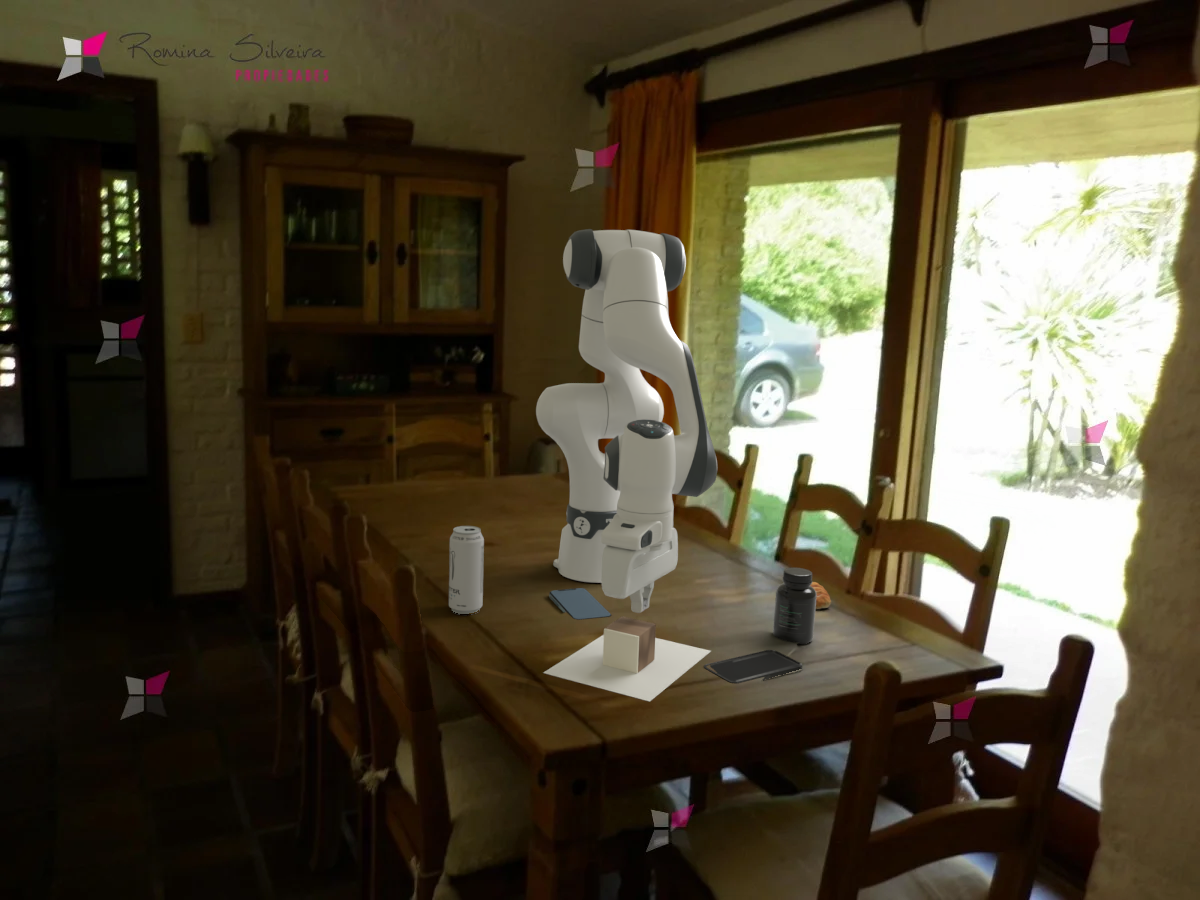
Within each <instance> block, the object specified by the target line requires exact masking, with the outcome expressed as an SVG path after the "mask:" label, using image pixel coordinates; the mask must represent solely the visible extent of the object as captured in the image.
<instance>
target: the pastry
mask: <svg viewBox="0 0 1200 900" xmlns="http://www.w3.org/2000/svg"><path fill="white" fill-rule="evenodd" d="M810 586H811V587H813V588H814V589H815V591H816V594H817V596H816V609H815V610H821V609H827V608H829V607H831V604H832V600H831V596H830V595H829V593H828V591H827V590H826V589H825V588H824V586H823V585H820V584H819V582H816V581H812V584H811V585H810Z"/></svg>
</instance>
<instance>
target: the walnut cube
mask: <svg viewBox="0 0 1200 900" xmlns="http://www.w3.org/2000/svg"><path fill="white" fill-rule="evenodd" d="M656 626H657V623H654V622H648V621H644V620H641V619H637V618H636V619H635V618H631V617H627V616H620V617H619V618H617V619H616V620H614V621H613V622H612V623H610V624H608V625H607V626H605V627H604V629H603V635H604V642H603V665H606V666H610V667H613V668H617V669H621V670H625V671H629V672H633V673H639V672H640V671H641V670H642V669H643V668H645V667H646V666H647V665H648V664H650V663H651V662H652V661H653V660H654V656H655V638H656V629H657V627H656Z"/></svg>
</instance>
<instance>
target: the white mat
mask: <svg viewBox="0 0 1200 900" xmlns="http://www.w3.org/2000/svg"><path fill="white" fill-rule="evenodd" d="M603 642H604V634H602V635H601V636H599V637H597V638H596V639H595V640H592V642H589V643H588V644H587V645H585V646H583V647H582V648H579V649H578V650H577V651H575V652H574V653H572V654H570V655H569V656H568V657H565V658H564V659H563V660H561V661H560V662H557V663H556V664H555V665H553V666H552V667H550V668H549V669H547V670H545V671H544V672H542V673H543V674H546V675H549V676H553V677H555V678H560V679H563V680H568V681H570V682H571V681H572V682H575V683H580V684H582V685H586V686H591V687H593V688H597V689H602V690H605V691H609V692H612V693H616V694H619V695H623V696H627V697H630V698H631V697H632V698H634V699H639V700H642V701H646V702H651V701H653V700H654V699H655V698H657V696H659V695H660V694H661V693H662V692H664V691H665V689H667V688H669V687H670V686H671V685H672V684H673V683H674V682H676V681H677V680H678V679H679V678H680V677H682V676H683V675H684V674H685V673H687V671H689V670H690V669H691V668H693V667H694V666H695V665H696V664H698V662H700V661H701V660H703V658H705V657H706V656H707V655H708V654H710V653H711V652H712V650H710V649H705V648H701V647H700V648H699V647H696V646H691V645H689V644H684V643H680V642H674V641H671V640H667V639H662V638H657V637H655V656H654V660H653V661H652V662H651V663H650V664H648V665H647V666H646V667H645V668H643V669H642V670H641V671H640V672H639V673H633V672H629V671H625V670H621V669H617V668H613V667H610V666H606V665H603Z"/></svg>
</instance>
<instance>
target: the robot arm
mask: <svg viewBox="0 0 1200 900" xmlns="http://www.w3.org/2000/svg"><path fill="white" fill-rule="evenodd" d="M562 258H563V259H562V264H563V270H564V273H565V274H566V275H565V276H566V279H567V281H568V282H569V283H571V285H572V286H574V287H576V288H580V289H582V290H585V291H584V294H583V295H584V296H583V300H582V307H581V308H582V309H581V317H580V318H581V319H580V329H579V340H578V351H579V354H580V356H581V357H582V359H583V360H584V361H585V363H587V364H589V365H590V366H592V367H593V368H595V369H596V370H599V371H600V372H603V373H604V381H603V382H600V383H594V382H593V383H592V382H591V383H589V382H588V383H586V382H583V383H581V382H580V383H579V382H577V383H576V382H575V383H574V382H573V383H572V382H571V383H570V382H569V383H562V384H558V385H552V386H548V387H546V388H545V389H544V390H543V391H542V393H541V394H540V396H539V398H538V399H537V402H536V407H535V415H536V420H537V423H538V426H539V427H540V428H541V430H542V431H543V432H544V433H545V434H546V435H547V436H549V437H550V438H551V439H552V440H553V441H554V442H555V443H556V444H557V445H558V446H559V448H560V449H561V451H562V453H563V454H564V457H565V459H566V463H567V467H568V476H569V502H568V504H567V505H566V506H567V507H566V513H565V514H566V520H565V521H566V522H567V524H566V525H565V526H564V527H562V529H561V536H560V543H559V551H558V558H556V559H554V560H553V564H552V565H553V567H555V568H557V569H558V573H559V574H560V575H562V577H565V578H567V579H569V580H573V581H578V582H584V583H597V584H598V583H600V584H601V590H602V591H603V594H604V596H607V597H610V598H614V599H620V600H624V599H627V598H628V597H629V599H630V601H631V602H630V605H631V606H630V607H631V608H630V609H631V611H632V612H633V613H636V614H640V613H642V612H644V611H645V610H647V609H648V608H649V607H650V599H651V596H652V593H653V591H654V588H655V581H657V580H659V579H661V578H662V577H663V576H665V575H667V574H669V573H670V572H672V571H674V570H676V568H677V564H678V559H679V541H678V539H679V538H678V531H677V529H676V528H675V527H674V508H675V507H674V505H675V504H674V501H673V495H677V496H684V497H694V498H698V497H699V496H702V495H703V494H704V493H705V492H706V491H707V490H709V489H710V488H711V487H712V486H713V485H714V483H716V480H717V476H718V475H717V473H718V460H717V456H716V452H715V448H714V443H713V441H712V438H711V434H710V431H709V428H708V427H709V426H708V422H707V417H706V413H705V409H704V408H705V407H704V404H703V399H702V393H701V390H700V385H699V379H698V375H697V371H696V366H695V363H694V358H693V355H692V352H691V349H690V347H689V346H688V344H687V343H685V342H684V341H682V340H681V339H679V338H678V336H677V334H676V333H675V331H674V329H673V327H672V324H671V321H670V316H669V297H668V292H672V291H674V290H675V289H676V288H678V286H680V285H681V283H682V280H683V278H684V274H685V272H686V268H687V267H686V265H687V257H686V252H685V246H684V244H683V243H682V241H681V239H680V238H679V237H676V236H675V235H672V234H668V233H664V232H661V233H660V234H658V233H655V232H650V231H643V230H636V229H625V230H623V229H622V230H621V229H603V230H601V229H599V230H593V229H591V228H588V229H581V230H577V231H574V232H573V233H572V234H571V235H570V236H569V237H568V241H567V242H566V245H565V247H564V250H563V255H562ZM641 370H642V371H645V372H647V373H650V374H651V375H653V376H656V377H657V378H659V379H660V380H662V381H663V382H664V383H665V384H666V385H668V387H669V388H670V390H671V392H672V394H673V399H674V404H675V408H676V413H677V419H678V423H679V424H678V425H679V429H680V434H678V435H675V434H674V430H673V428H672V427H671V426H670V425H669V424H667V423H666V422H663V418H664V415H665V408H664V402H663V400H662V397H661V395H660V393H659V392H658V391H657V390H656V388H654V387H653V386H651V384H649V383H648V381H647V380H646V379H645V377H644V376H643V374H642V372H641ZM601 439H611V440H610V442H608V443H607V444H606V445H605V447H604V453H603V452H602V451H600V448H599V440H601Z"/></svg>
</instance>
